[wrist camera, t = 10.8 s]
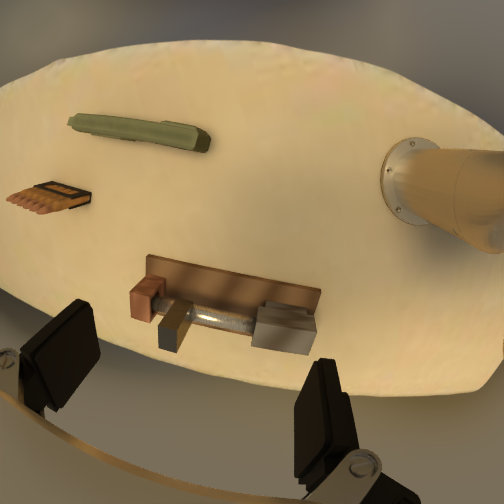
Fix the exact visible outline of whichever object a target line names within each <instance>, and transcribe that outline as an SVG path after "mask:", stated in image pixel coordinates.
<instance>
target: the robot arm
mask: <svg viewBox="0 0 504 504" xmlns="http://www.w3.org/2000/svg"><path fill="white" fill-rule="evenodd" d="M410 143H411V145H410ZM387 169H388V172H387ZM381 188H382V192H383V196H384V199H385V201H386V203H387V205H388V207H389V208H390V210H391V211H392V212H393V213H394V214H395V215H396V216H397V217H398V218H400V219H401V220H402V221H404V222H406V223H408V224H412V225H417V226H422V225H428V224H430V223H432V224H434V225H436V226H438V227H440V228H442V229H444V230H446V231H447V232H449V233H451V234H453V235H455V236H457V237H458V238H460V239H462V240H464V241H465V242H467V243H469V244H471V245H472V246H474V247H476V248H477V249H479V250H481V251H483V252H486V253H491V254H499V253H503V252H504V151H489V150H472V149H441V148H440V147H438V146H437V145H436V144H435V143H433V142H431V141H430V140H427V139H424V138H409V139H405V140H402V141H401V142H399V143H397V144H396V145H395V146H394V147H393V148H392V149H391V150H390V151H389V153H388V154H387V156H386V158H385V160H384V163H383V167H382V171H381ZM396 207H397V210H396ZM20 351H21V353H20V354H18V352H17V351H16V350H14V349H12V348H4V349H1V350H0V504H421V501H420V498H419V497H418V495H417V494H415V493H414V492H413V491H411V490H409V489H407V488H406V487H404V486H403V485H401V484H399V483H398V482H396V481H395V480H393V479H391V478H390V477H388V476H386V475H385V474H384V473H382V472H381V470H382V463H381V460H380V458H379V457H378V456H377V455H376V454H375V453H374V452H372V451H370V450H367V449H360V448H359V443H358V438H357V433H356V428H355V422H354V417H353V413H352V408H351V403H350V398H349V395H348V394H347V392H342V390H341V385H340V381H339V376H338V371H337V367H336V362H335V360H334V359H326V358H320V359H319V360H318V361H314V362H313V365H312V367H311V369H310V372H309V374H308V376H307V378H306V381H305V383H304V385H303V387H302V389H301V392H300V394H299V396H298V398H297V400H296V402H295V406H294V476H295V478H299V484H306V490H307V491H308V493H307V494H306V495H305V496H304V497H302V498H301V499H300V500H299V499H287V498H278V497H267V496H258V495H250V494H243V493H237V492H231V491H225V490H219V489H214V488H210V487H205V486H201V485H196V484H192V483H189V482H185V481H181V480H178V479H174V478H171V477H167V476H164V475H161V474H158V473H155V472H152V471H149V470H146V469H144V468H141V467H138V466H135V465H133V464H130V463H128V462H126V461H123V460H121V459H118V458H116V457H114V456H112V455H109V454H107V453H105V452H103V451H101V450H99V449H96V448H94V447H93V446H91V445H89V444H87V443H85V442H83V441H81V440H79V439H77V438H76V437H74V436H72V435H70V434H68V433H67V432H65V431H63V430H62V429H60V428H58V427H57V426H55V425H54V424H52V423H50V422H49V421H47V420H46V419H45V413H44V408H45V406H46V405H47V407H48V408H50V409H51V410H53V411H55V412H57V411H58V409H59V408H63V407H64V405H65V404H66V403H67V401H68V400H69V398H70V397H71V396H72V394H73V393H74V392H75V390H76V389H77V388H78V386H79V385H80V384H81V382H82V381H83V380H84V378H85V377H86V376H87V374H88V373H89V372H90V370H91V369H92V368H93V367H94V365H95V364H96V363H97V361H98V360H99V358H100V354H101V353H100V348H99V343H98V338H97V333H96V327H95V321H94V315H93V309H92V307H91V306H90V304H89V303H88V302H86V301H83V300H81V299H76V300H75V301H73V302H72V303H71V304H70V305H69V306H67V307H66V308H65V309H64V310H63V311H61V312H60V313H59V314H58V315H57V316H56V317H54V318H53V319H52V320H51V321H50V322H49V323H48V324H46V325H45V326H44V327H43V328H42V329H41V330H40V331H39V332H38V333H36V334H35V335H34V336H33V337H32V338H31V339H30V340H29V341H28V342H27V343H26V344H25V345H23V346H22V347H21V348H20ZM503 358H504V340H503Z"/></svg>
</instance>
